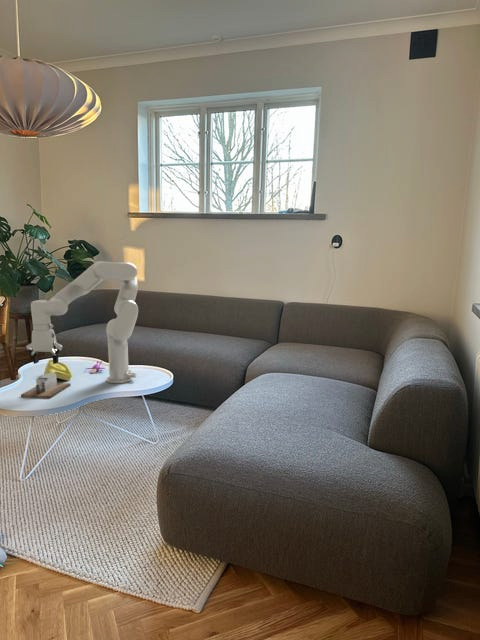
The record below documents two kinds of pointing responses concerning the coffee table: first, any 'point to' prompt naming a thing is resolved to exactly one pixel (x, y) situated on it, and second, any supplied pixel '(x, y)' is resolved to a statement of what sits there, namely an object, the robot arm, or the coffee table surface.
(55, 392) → the pin tray
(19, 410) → the coffee table surface
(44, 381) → the block
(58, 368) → the plastic component
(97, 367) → the purple doll figure
